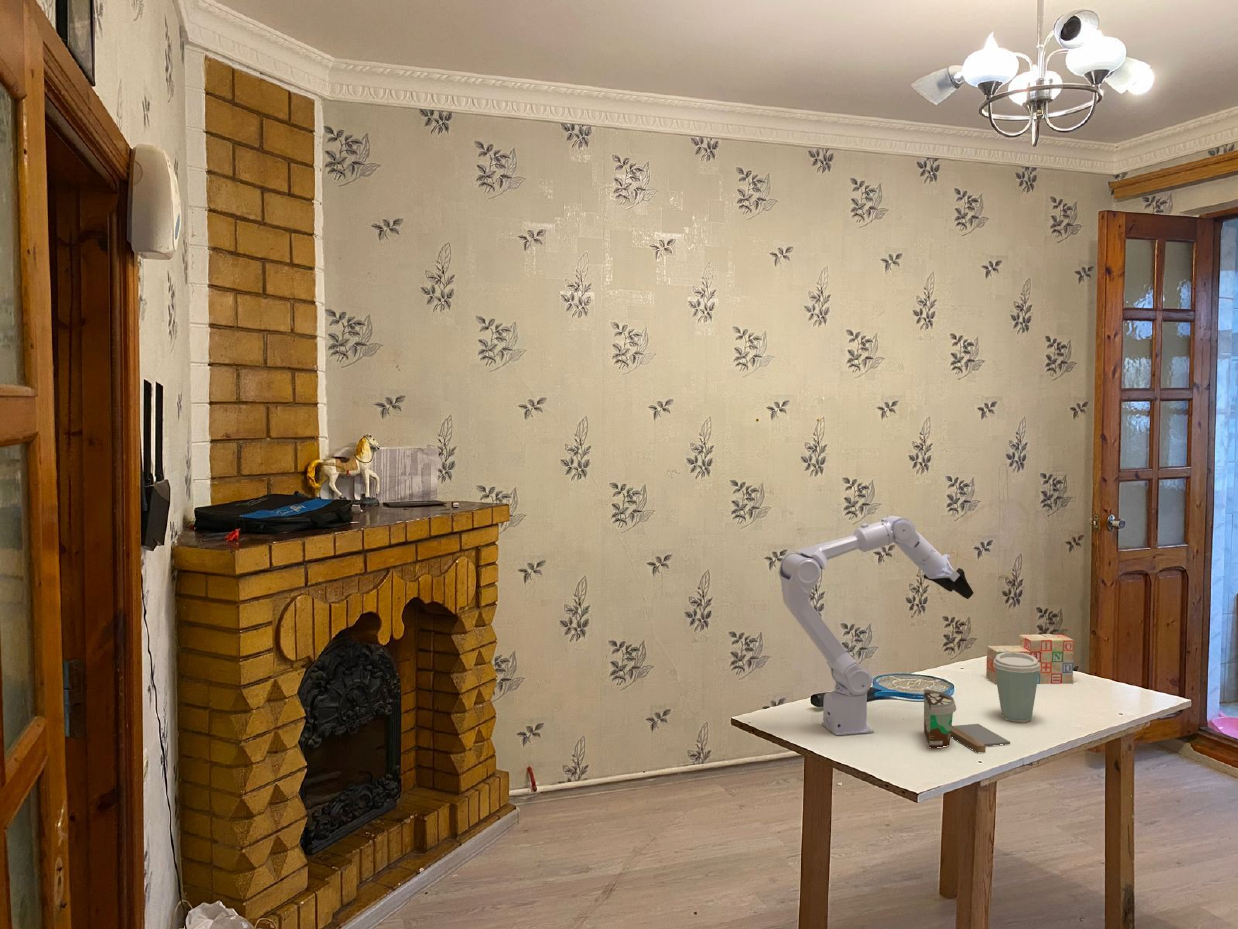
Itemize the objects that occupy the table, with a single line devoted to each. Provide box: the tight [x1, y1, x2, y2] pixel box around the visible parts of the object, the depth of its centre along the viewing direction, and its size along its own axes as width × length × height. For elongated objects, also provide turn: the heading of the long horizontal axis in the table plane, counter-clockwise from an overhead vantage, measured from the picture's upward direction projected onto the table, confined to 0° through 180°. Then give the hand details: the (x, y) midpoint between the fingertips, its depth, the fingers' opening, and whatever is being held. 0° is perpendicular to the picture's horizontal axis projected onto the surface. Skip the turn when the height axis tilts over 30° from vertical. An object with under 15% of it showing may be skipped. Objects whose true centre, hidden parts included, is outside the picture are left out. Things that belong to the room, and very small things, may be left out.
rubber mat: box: [952, 723, 1011, 747], centre depth 208 cm, size 8×12×1 cm, turn 12°
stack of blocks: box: [985, 633, 1075, 686], centre depth 250 cm, size 21×6×12 cm, turn 93°
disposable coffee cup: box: [993, 652, 1041, 723], centre depth 219 cm, size 11×11×15 cm
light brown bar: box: [951, 725, 987, 754], centre depth 206 cm, size 2×16×2 cm, turn 12°
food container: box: [923, 688, 957, 749], centre depth 204 cm, size 12×6×10 cm, turn 168°
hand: (961, 592), depth 216 cm, fingers open, 7 cm apart
